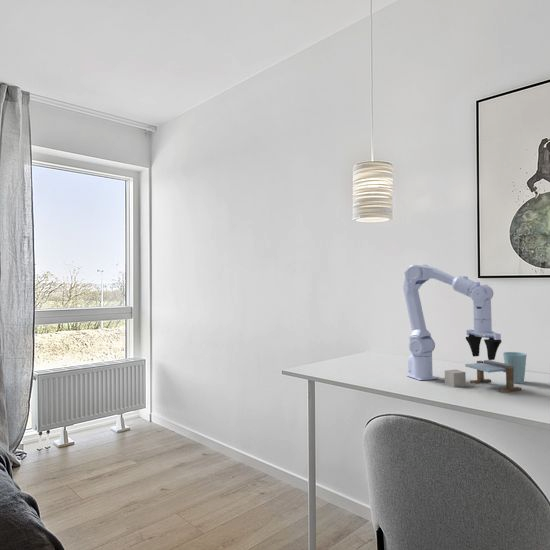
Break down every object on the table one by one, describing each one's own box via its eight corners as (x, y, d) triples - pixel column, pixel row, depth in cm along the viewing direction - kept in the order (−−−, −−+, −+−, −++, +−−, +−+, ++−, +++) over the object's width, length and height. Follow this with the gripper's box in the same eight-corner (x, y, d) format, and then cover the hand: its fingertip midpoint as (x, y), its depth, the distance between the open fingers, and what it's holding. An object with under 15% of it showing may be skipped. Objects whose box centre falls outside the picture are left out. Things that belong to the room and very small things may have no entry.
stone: (444, 384, 166) (444, 370, 167) (456, 383, 168) (456, 369, 168) (453, 387, 162) (453, 373, 162) (465, 386, 163) (465, 372, 163)
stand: (470, 382, 167) (469, 361, 167) (487, 380, 170) (487, 360, 170) (502, 392, 152) (501, 369, 153) (521, 390, 155) (520, 367, 155)
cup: (502, 382, 166) (501, 354, 166) (505, 378, 173) (504, 351, 173) (525, 385, 162) (525, 355, 162) (527, 381, 168) (527, 352, 169)
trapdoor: (465, 368, 165) (465, 362, 165) (489, 366, 168) (489, 360, 168) (488, 375, 153) (488, 367, 153) (514, 372, 156) (513, 365, 156)
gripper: (507, 320, 154) (508, 360, 154) (477, 317, 168) (478, 354, 168) (490, 321, 152) (491, 362, 152) (461, 318, 166) (462, 355, 166)
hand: (483, 357), depth 160 cm, fingers open, 7 cm apart
